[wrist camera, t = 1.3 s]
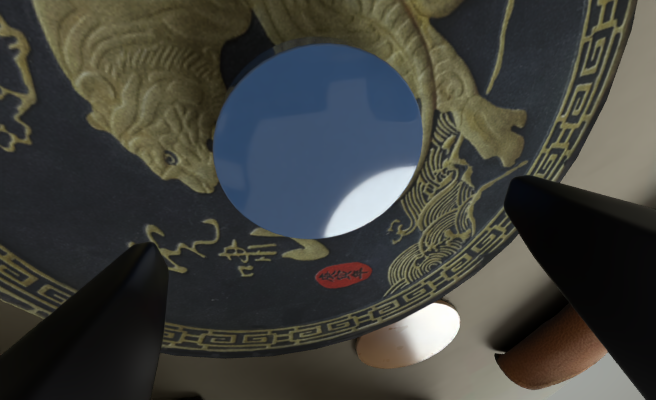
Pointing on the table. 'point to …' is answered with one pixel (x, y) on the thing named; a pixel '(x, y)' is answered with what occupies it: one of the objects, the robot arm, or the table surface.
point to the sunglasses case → (552, 352)
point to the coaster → (410, 337)
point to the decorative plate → (200, 175)
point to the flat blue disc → (316, 138)
